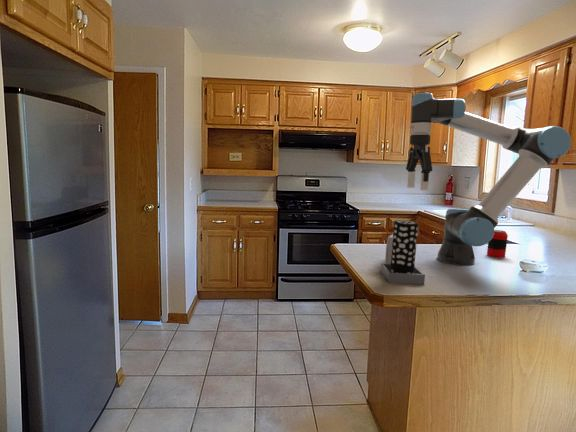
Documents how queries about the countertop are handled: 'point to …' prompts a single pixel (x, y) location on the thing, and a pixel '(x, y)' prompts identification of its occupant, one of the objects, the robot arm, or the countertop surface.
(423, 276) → the tray
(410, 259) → the spotted tube
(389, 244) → the stereo radio cassette player
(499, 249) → the soda can
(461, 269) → the countertop surface
